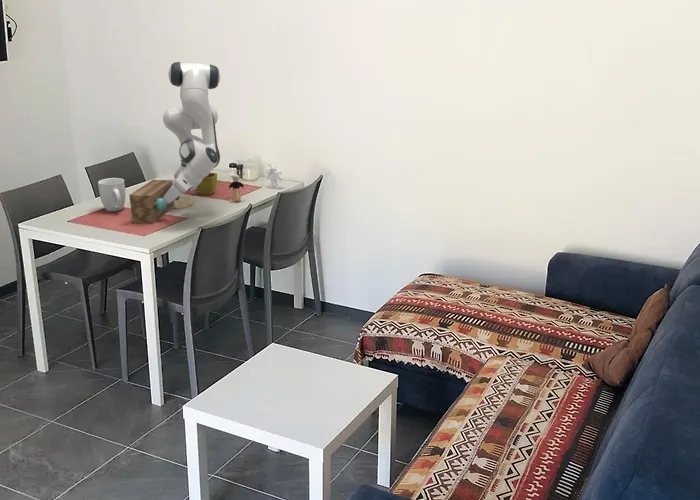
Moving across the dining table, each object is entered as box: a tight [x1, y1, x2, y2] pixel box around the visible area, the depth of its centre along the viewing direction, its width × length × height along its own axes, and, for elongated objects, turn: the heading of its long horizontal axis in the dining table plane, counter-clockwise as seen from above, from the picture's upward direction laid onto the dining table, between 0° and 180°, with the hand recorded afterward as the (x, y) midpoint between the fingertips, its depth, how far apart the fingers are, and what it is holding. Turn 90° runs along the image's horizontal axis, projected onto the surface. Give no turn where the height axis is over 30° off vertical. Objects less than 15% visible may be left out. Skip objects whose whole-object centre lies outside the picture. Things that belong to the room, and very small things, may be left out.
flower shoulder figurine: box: [264, 163, 283, 189], centre depth 365 cm, size 9×4×12 cm, turn 61°
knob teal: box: [154, 198, 167, 210], centre depth 319 cm, size 8×5×5 cm, turn 81°
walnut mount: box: [129, 179, 176, 224], centre depth 327 cm, size 9×25×12 cm, turn 171°
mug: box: [97, 177, 126, 212], centre depth 332 cm, size 15×11×13 cm
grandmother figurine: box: [227, 173, 246, 203], centre depth 344 cm, size 8×4×13 cm, turn 112°
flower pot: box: [196, 172, 218, 195], centre depth 357 cm, size 9×9×9 cm
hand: (167, 201), depth 318 cm, fingers closed
